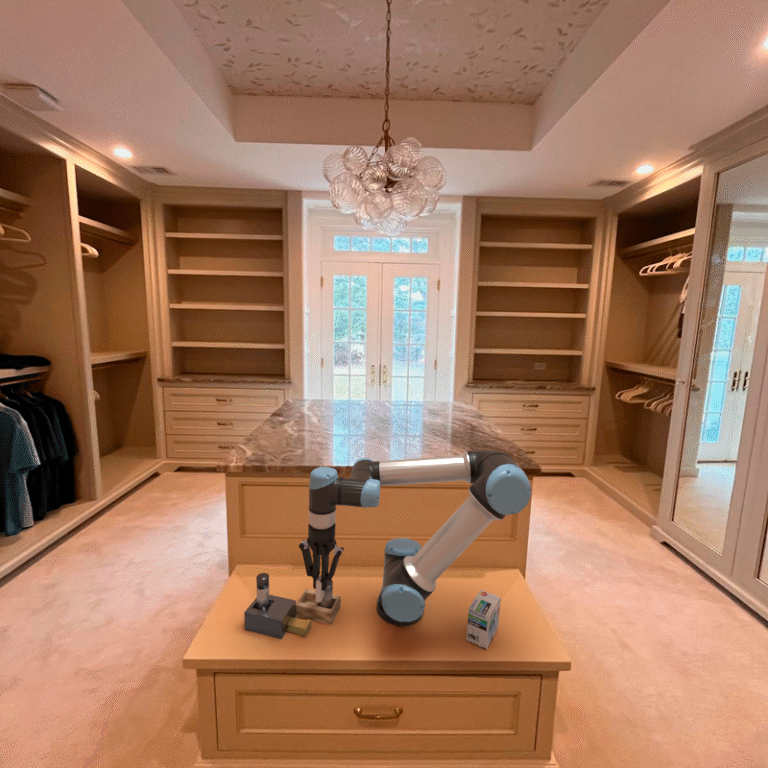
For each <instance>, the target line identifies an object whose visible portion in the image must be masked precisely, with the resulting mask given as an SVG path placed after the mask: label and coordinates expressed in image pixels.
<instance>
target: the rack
mask: <svg viewBox="0 0 768 768" xmlns="http://www.w3.org/2000/svg"><path fill="white" fill-rule="evenodd" d="M333 586H334V581H333V579H331V581H328V583H327V588H326V590H325V591H324V597H323V599H322V601H321V602H316V590H315V589H314V590H313V589H309V588H306V589H304V591H303V593H302V594H301V596H300V597H299V599H298V600H296V618H299V619H303V620H307V619H310V620H311V622H313V621H314V622H317V623H322V624H326V625H328V626H329V625H330V626H332V624H333V622H334V621H335V619H336V616H337V615H338V613H339V611H340V610H341V607H342V605H341V603H342V601H341V599H342V596H341V595H336V594H333V591H334V588H333Z"/></svg>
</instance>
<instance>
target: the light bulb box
mask: <svg viewBox="0 0 768 768" xmlns="http://www.w3.org/2000/svg"><path fill="white" fill-rule="evenodd" d="M501 602H502V598H501V597H500V596H497V595H495V594H493V593H491V592H488V591H485V590H484V589H480V590H479V591H478V593H477V595H476V597H474V599H473V600H472V602H471V604H470V605H469V607H468V612H467V615H468V616H467V626H466V636H465V637H466V638H465V640H466V641H467V642H469V643H471V642H472V643H471V644H473V643H475V644H477V645H479V646H478V647H480V646H482V647H484V648H488V646H489V645H490V646H491V644H490V643H492V642H491V641H493V640H494V638H495V636H496V634H497V632H498V630H499V622H500V621H499V620H500V613H501V611H500V610H501ZM497 629H498V630H497ZM496 631H497V632H496ZM495 633H496V634H495ZM494 635H495V636H494ZM493 637H494V638H493ZM492 639H493V640H492ZM475 644H474V645H475ZM477 645H476V646H477ZM490 646H489V647H490ZM482 647H481V648H482ZM484 648H483V649H484ZM488 649H489V648H488Z"/></svg>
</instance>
